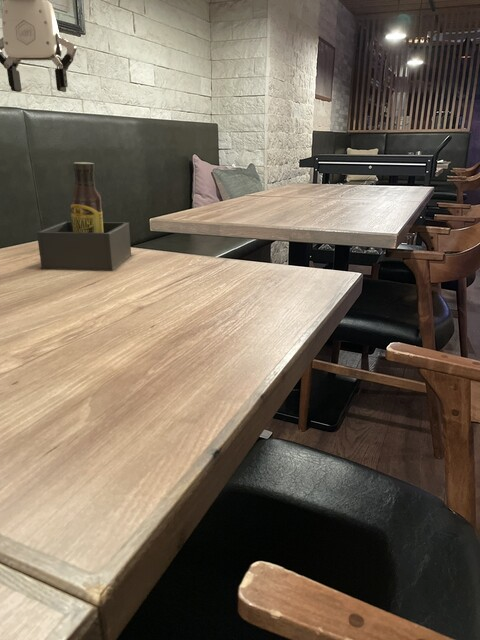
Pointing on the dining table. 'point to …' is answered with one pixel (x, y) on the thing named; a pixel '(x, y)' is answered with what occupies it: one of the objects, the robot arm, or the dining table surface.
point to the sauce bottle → (86, 201)
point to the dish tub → (84, 247)
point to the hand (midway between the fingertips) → (39, 91)
